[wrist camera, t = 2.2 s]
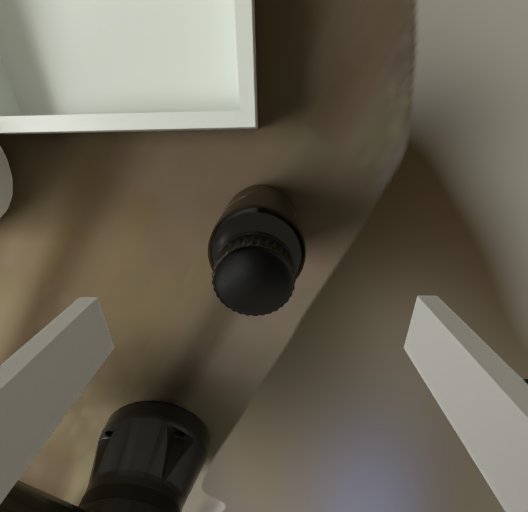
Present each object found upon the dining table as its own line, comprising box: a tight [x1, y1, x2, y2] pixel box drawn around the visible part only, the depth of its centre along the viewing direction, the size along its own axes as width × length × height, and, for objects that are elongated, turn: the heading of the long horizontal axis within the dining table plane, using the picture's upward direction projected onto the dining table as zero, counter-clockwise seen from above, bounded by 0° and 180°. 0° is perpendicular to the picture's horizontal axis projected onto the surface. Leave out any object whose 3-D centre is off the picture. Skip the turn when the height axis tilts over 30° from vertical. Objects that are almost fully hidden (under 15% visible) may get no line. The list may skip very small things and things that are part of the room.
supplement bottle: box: [208, 185, 306, 316], centre depth 20 cm, size 7×7×12 cm
